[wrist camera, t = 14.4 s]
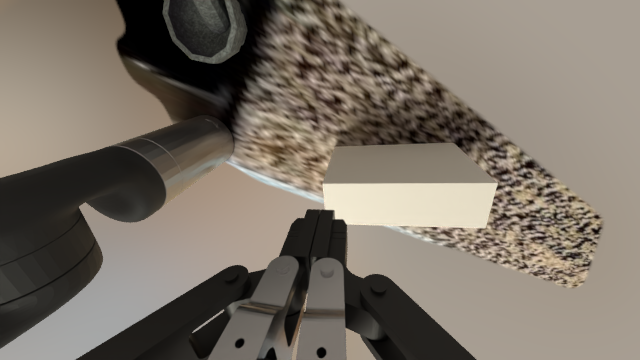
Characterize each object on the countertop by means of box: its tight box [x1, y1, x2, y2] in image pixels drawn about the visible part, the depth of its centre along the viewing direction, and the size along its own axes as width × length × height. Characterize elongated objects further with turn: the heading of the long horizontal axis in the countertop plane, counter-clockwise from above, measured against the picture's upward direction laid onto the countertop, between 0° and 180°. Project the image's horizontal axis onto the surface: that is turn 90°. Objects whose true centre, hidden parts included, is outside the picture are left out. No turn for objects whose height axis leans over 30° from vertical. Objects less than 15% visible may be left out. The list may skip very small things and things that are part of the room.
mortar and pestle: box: [163, 0, 247, 64], centre depth 30 cm, size 11×9×12 cm
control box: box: [323, 143, 498, 228], centre depth 34 cm, size 6×19×14 cm, turn 95°
